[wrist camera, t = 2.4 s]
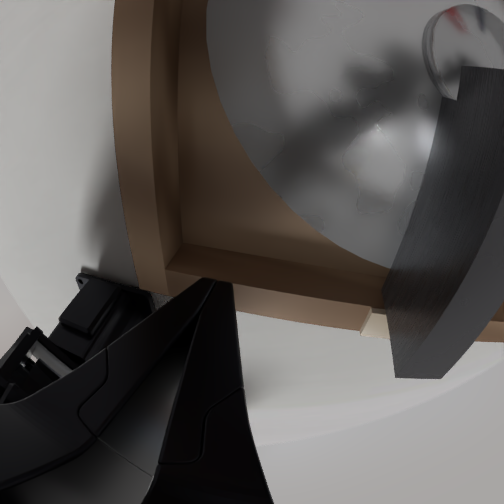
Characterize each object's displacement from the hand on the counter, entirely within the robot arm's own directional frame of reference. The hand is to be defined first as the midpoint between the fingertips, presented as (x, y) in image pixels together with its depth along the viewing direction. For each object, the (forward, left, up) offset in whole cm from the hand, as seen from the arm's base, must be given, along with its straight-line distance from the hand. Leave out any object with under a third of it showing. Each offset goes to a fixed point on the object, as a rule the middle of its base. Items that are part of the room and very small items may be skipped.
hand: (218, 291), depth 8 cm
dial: (+7, -7, -4) cm, 10 cm away
